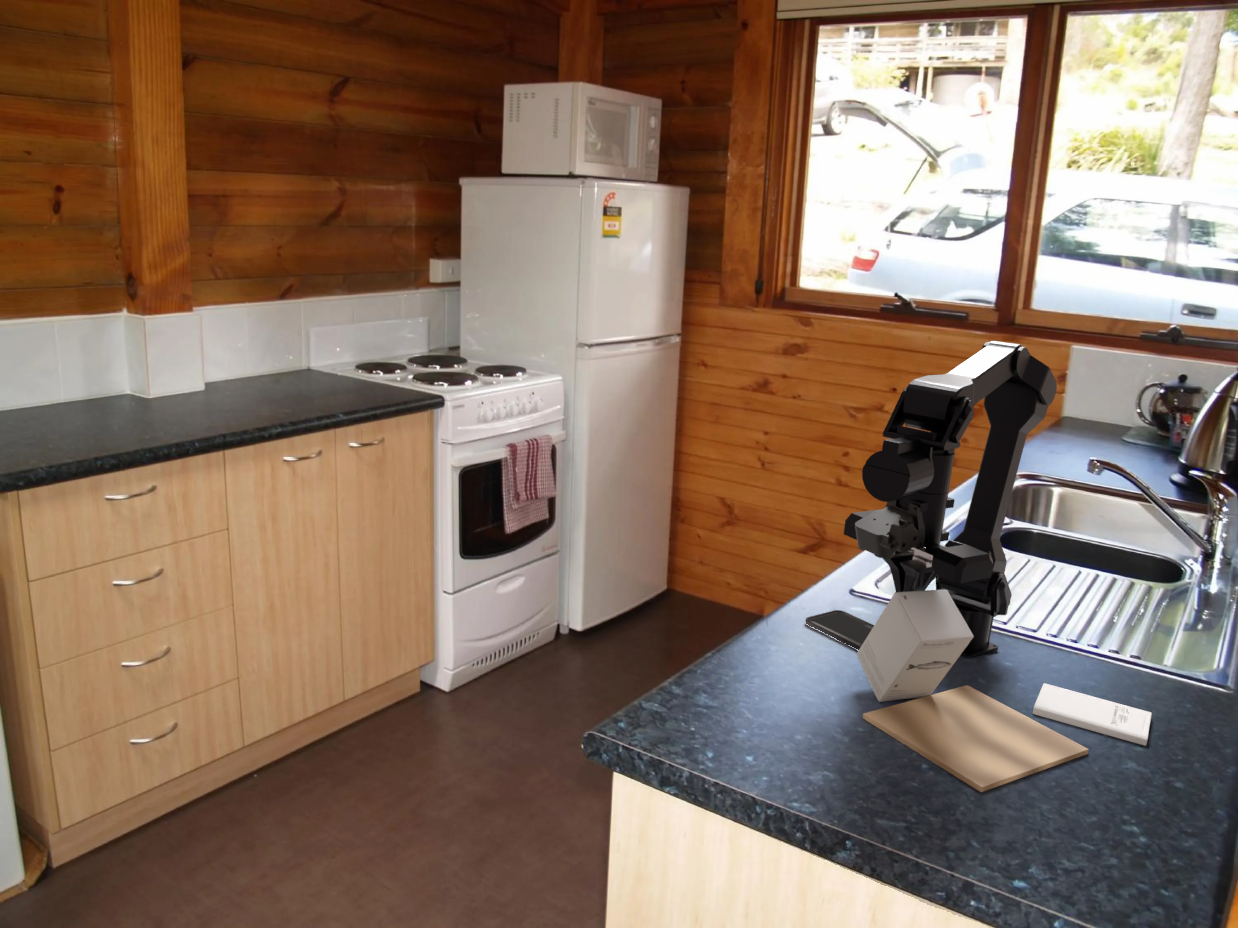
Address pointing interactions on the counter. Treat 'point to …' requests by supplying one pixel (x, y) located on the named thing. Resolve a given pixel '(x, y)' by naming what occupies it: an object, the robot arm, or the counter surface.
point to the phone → (842, 627)
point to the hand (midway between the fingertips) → (904, 610)
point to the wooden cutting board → (975, 737)
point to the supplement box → (913, 644)
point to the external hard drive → (1093, 713)
